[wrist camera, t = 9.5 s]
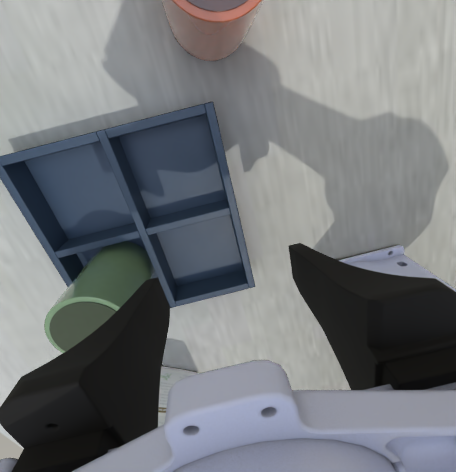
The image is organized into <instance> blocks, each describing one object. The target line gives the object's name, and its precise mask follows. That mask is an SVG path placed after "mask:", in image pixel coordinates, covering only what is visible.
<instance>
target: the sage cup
mask: <svg viewBox="0 0 456 472" xmlns="http://www.w3.org/2000/svg"><path fill="white" fill-rule="evenodd" d="M154 274H155V270H154V267H153V265H152V262H151V260H150V258H149V255H148V253H147V251H146V250H145V249H144V248H142V247H141V246H139V245H137V244H135V243H132V242H127V241H124V242H120V243H116V244H112V245H108V246H104V247H101V248H99V249H98V251H97V252H96V253H95V254H94V255H93V257H92V258H91V259H90V261H89V262H88V263H87V264H86V266H85V267H84V268H83V269H82V271H81V272H80V273H79V274H78V276H77V277H76V278H75V279H74V281H73V282H72V283H71V284H70V286H69V287H68V288H67V289H66V291H65V292H64V293H63V294H62V296H61V297H60V298H59V300H58V301H57V302H56V303H55V305H54V306H53V307H52V308H51V310H50V311H49V312H48V314H47V316H46V319H45V324H44V327H45V333H46V335H47V338H48V339H49V341H50V342H51V344H52V345H53V346H54V347H55V348H56V349H58V350H59V351H60V352H62V353H64V352H66V351H68V350H69V349H71V348H72V347H74V346H75V345H76V344H78V343H79V342H81V341H82V340H83V339H85V338H86V337H87V336H89V335H90V334H91V333H93V332H94V331H95V330H96V329H98V328H99V327H100V326H101V325H102V324H104V323H105V322H106V321H107V320H108V319H109V318H110V317H111V316H112V315H113V314H114V313H115V312H116V311H117V310H118V309H119V308H120V307H121V306H122V305H123V304H124V303H125V302H126V301H127V300H128V299H129V298H130V297H131V296H132V295H133V294H134V293H135V291H136V290H137V289H138V288H139V287H140V286H141V285H142V284H143V283H144V282H145V281H146V280H148V279H152V278H154Z"/></svg>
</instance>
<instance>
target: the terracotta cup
mask: <svg viewBox="0 0 456 472" xmlns="http://www.w3.org/2000/svg"><path fill="white" fill-rule="evenodd" d="M263 2H264V0H162V3H163V6H164V9H165V12H166V15H167V18H168V21H169V24H170V27H171V30H172V32H173V34H174V36H175V38H176V40H177V41H178V42H179V44H180V45H181V46H182V47H183V48H184V49H185V50H186V51H187V52H188V53H189V54H191V55H192V56H194V57H196V58H198V59H202V60H206V61H216V60H220V59H223V58H225V57H227V56H229V55H230V54H232V53H233V52H234V51H235V50H236V49H237V48H238V47H239V46H240V44H241V43H242V41H243V39H244V38H245V36H246V34H247V32H248V30H249V28H250V26H251V24H252V22H253V21H254V19H255V17H256V15H257V13H258V11H259V9H260V7H261V5H262V3H263Z"/></svg>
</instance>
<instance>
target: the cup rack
mask: <svg viewBox="0 0 456 472" xmlns="http://www.w3.org/2000/svg"><path fill="white" fill-rule="evenodd" d="M0 178H1V180H2V182H3V183H4V185H5V187H6V188H7V190H8V191H9V193H10V195H11V196H12V198H13V199H14V201H15V203H16V204H17V206H18V208H19V209H20V211H21V212H22V214H23V216H24V217H25V219H26V220H27V222H28V224H29V225H30V227H31V228H32V230H33V232H34V233H35V235H36V237H37V238H38V240H39V241H40V243H41V245H42V246H43V248H44V249H45V251H46V253H47V254H48V256H49V258H50V259H51V261H52V262H53V264H54V266H55V267H56V269H57V270H58V272H59V274H60V275H61V277H62V278H63V280H64V282H65V283H66V285H67V287H69V286H70V284H71V283H72V282H73V281H74V279H75V278H76V277H77V276H78V274H79V273H80V272H81V271H82V269H83V268H84V267H85V266H86V264H87V263H88V262H89V261H90V259H91V258H92V257H93V255H94V254H95V253H96V252H97V251H98V249H99V248H101V247H104V246H108V245H112V244H116V243H120V242H124V241H127V242H132V243H135V244H137V245H139V246H141V247H142V248H144V249H145V250H146V251H147V253H148V255H149V258H150V260H151V262H152V265H153V267H154V270H155V274H154V278H156V277H158V279H159V281H160V284H161V286H162V289H163V291H164V294H165V296H166V299H167V301H168V304H169V306H170V308H172V307H176V306H180V305H184V304H188V303H192V302H196V301H200V300H204V299H208V298H212V297H216V296H220V295H224V294H228V293H232V292H236V291H240V290H244V289H248V288H252V287H255V283H254V279H253V275H252V270H251V266H250V261H249V257H248V253H247V248H246V244H245V240H244V235H243V231H242V226H241V222H240V218H239V213H238V209H237V205H236V200H235V196H234V191H233V187H232V183H231V178H230V174H229V170H228V165H227V161H226V156H225V152H224V148H223V143H222V139H221V135H220V130H219V126H218V121H217V117H216V113H215V108H214V104H213V102H208V103H205V104H201V105H197V106H193V107H189V108H185V109H181V110H177V111H174V112H170V113H166V114H162V115H158V116H154V117H150V118H147V119H143V120H139V121H135V122H131V123H127V124H123V125H119V126H116V127H112V128H108V129H105V130H100V131H97V132H92V133H89V134H85V135H81V136H77V137H73V138H69V139H65V140H61V141H58V142H54V143H50V144H46V145H42V146H38V147H34V148H31V149H27V150H23V151H19V152H15V153H11V154H7V155H4V156H0Z"/></svg>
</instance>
